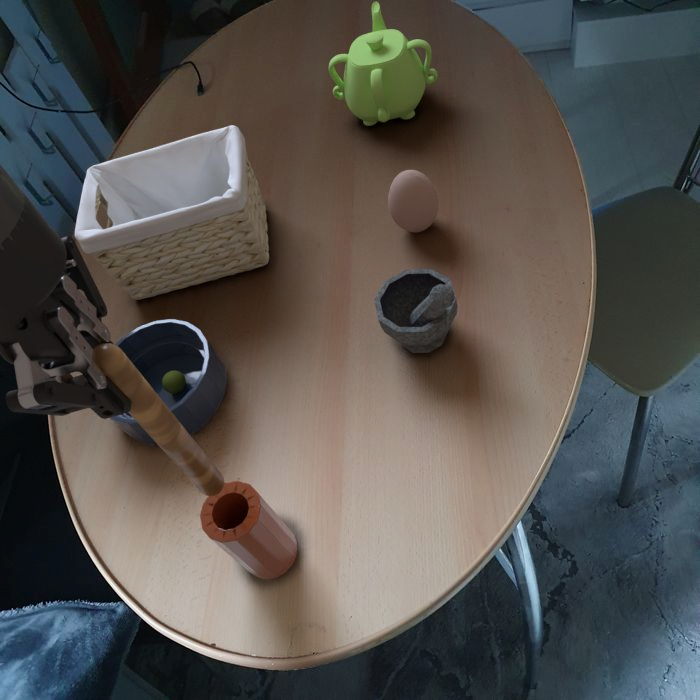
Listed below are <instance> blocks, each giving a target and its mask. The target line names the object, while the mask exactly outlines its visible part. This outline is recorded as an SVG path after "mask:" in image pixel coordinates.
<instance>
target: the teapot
mask: <svg viewBox="0 0 700 700" xmlns="http://www.w3.org/2000/svg"><path fill="white" fill-rule="evenodd" d="M371 19H372V31H371V32H368V33H364V34H362V35H359V36H357V37H356V39H354V40H353V42H352V43H351V44H350V47H349V51H348V53H340V54H336V55H335V56H333V57H332V58H331V59H330V61H329V63H328V73H329V76H330V78H331V79H332V81H333V82H334V83H335V86H334V87H333V89H332V95H333V97H334V98H335V99H336V100H338V101H344V100H345V102H346V105H347V107H348V109H349V111H350V112H351V113H352V114H353V115H354V116H356V117H357V118H358V119H359V120H362V121H363V125H364V126H367V127H368V126H369V127H370V126H374V125H376V124H377V123H378V122H380V123H385V122H388V121H389V120H390V121H391V120H394V119H398V118H400V119H402V120H410V119H412V118H413V117H415V115H416V111H415V109H416V108H417V106H418V105H419V103H420V102H421V100H422V97H423V95H424V93H425V90H426V85H432V84H433V85H434V83H436V82H437V80H438V77H439V74H438V71H437V70H436V69H435V68H430V67H431V63H432V57H433V56H432V55H433V50H432V47H431V45H430V43H428V42H427V41H426V40H424V39H420V38H419V39H411V40H410V41H409V39H408V38H407V37H406V36H405V34H404V33H402V32H401V31H400V30H398V29H396V28H395V29H394V28H387V26H386V24H385V23H386V22H385V21H384V17H383V14H382V10H381V5H380V3H379V2H378V1H376V0H375V1H373V2H372V4H371ZM417 48H418V49H424V50H425V59H424V64H423V63H422V61H421V58H420V56H419V55H418V53H417V51H416V50H415V49H417ZM339 63H345V66H344V72H343V80H342V79H341V77H340V76H339V74H338V73H337V71H336V68H335V66H336V65H337V64H339ZM429 75H430V76H429ZM339 91H340V92H339Z"/></svg>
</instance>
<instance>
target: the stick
mask: <svg viewBox="0 0 700 700" xmlns="http://www.w3.org/2000/svg"><path fill="white" fill-rule="evenodd" d="M93 350H94V352H93V358H92V359H93V361H94V362H95V363H96V364H97V366H98V367H99V368H100V369H101V371H102V372H103V373H104V375H105V376H108V377H109V378H110V379H111V380H112V381H113V382H114V383H115V385H116V386H117V387H118V388H119V389H120V390H121V391H122V392H123V393H124V394H125V395H126V396H127V397H128V398H129V399H130V400H131V410H130V411H129V413H130V414H131V416H132V417H133V418H134V419H135V420H136V421H137V422H138V423H139V424H140V425H141V427H142V428H143V429H144V430H145V431H146V432H147V433H148V434H149V435H150V436H151V438H152V439H153V440H154V441H155V442H156V443H157V444H158V445H157V446H159V448H160V449H161V450H162V451H163V452H164V453H165V455H166V456H168V458H169V459H170V460H171V461H172V462H173V463H174V464H175V465H176V466H177V468H178V469H179V470H180V471H181V472H182V474H184V475H185V477H186V478H188V480H189V481H190V482H191V483H192V485H194V487H196V489H198V491H199V492H200V493H201V494H202V495H204V496H206V497H208V496H215V495H217V494H219V493H220V492H221V491H222V489H223V487H224V483H225V478H224V476H223V474H222V473H221V472H220V470H219V469H218V468H217V467H216V465H215V464H214V463H213V462H212V461H211V459H210V458H209V456H208V455H207V454H206V453H205V452H204V450H203V449H202V448H201V447H200V445H199V444H198V443H197V442H196V441H195V439H194V438H193V436H192V435H190V434H189V433H188V432H187V431H186V429H185V428H184V427H183V426H182V424H181V423H180V422H179V421H178V419H177V418H176V417H175V416H174V414H173V413H172V412H171V411H170V409H169V408H168V407H167V406H166V404H165V403H164V402H163V401H162V399H161V398H160V397H159V396H158V394H157V393H156V392H155V391H154V390H153V388H152V387H151V386H150V385H149V383H148V382H147V381H146V380H145V378H144V377H143V376H142V375H141V373H140V372H139V371H138V370H137V368H136V367H135V366H134V365H133V363H132V362H131V361H130V360H129V358H128V357H127V356H126V355H125V353H124V352H123V351H122V350H121V349H120V348H119V347H118V346H116V345H115V344H114V343H113V344H110V343H104V344H100V345H98V346H96V347H95V348H94V349H93Z"/></svg>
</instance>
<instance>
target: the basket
mask: <svg viewBox="0 0 700 700" xmlns="http://www.w3.org/2000/svg"><path fill="white" fill-rule="evenodd" d="M246 146H247V145H246V138H245V136H244V134H243V133H242V132H241V129H240V128H239V127H238V126H236V125H232V124H231V125H228V126H225V127H220V128H217V129H214V130H209V131H205V132H201V133H198V134H195V135H192V136H191V135H190V136H188V137H185V138H182V139H179V140H175V141H172V142H169V143H165V144H161V145H158V146H155V147H153V148H149V149H145V150H142V151H138V152H135V153H131V154H128V155H124V156H121V157H118V158H113V159H110V160H108V161H104V162H100V163H97V164H94V165H92V166H91V165H90V167H88V168H87V170H86V175H85V178H84V180H83V181H84V182H83V185H82V190H81V195H80V201H79V206H78V211H77V215H76V222H75V228H74V238H75V240H76V241H77V242H78V244H79V246H80V249H81V250H82V251H83V253H85V254H86V255H91V256H92V257H93V258H95V260H96V261H97V262H98V263H99V264H100V266H101V267H102V268H103V269H104V270H105V271H106V273H107V274H108V276H110V277H111V278H113V279H114V280H115V282H116V284H118V285H119V286H121V287H122V288H123V290H124V292H126V293H127V294H128V295H129V296H130V297H131V298H132V300H135V301H139V300H143V299H147V298H153V297H156V296H158V295H162V294H168V293H170V292H173V291H176V290H182V289H185V288H188V287H192V286H198V285H200V284H203V283H206V282H210V281H216V280H218V279H221V278H224V277H228V276H234V275H236V274H239V273H244V272H247V271H252V270H254V269H257V268H261V267H264V266H266V265H268V263H269V261H270V253H269V251H270V246H269V235H268V229H269V228H268V222H267V213H266V212H267V210H266V209H267V207H266V203H265V200H264V197H263V195H262V192H261V188H260V187H259V181H258V180H257V178H256V176H255V175H256V174H255V172H254V169H253V167H252V164H251V163H250V161H249V157H248V152H247V147H246ZM100 205H102V207H103V209H104V210H105V212H106V214H107V217H108V218H107V224H106V228H103V227H102V226H101V225H100V222H99V219H100V218H99V217H98V216H97V215H98V211H99V208H100V207H99V206H100Z"/></svg>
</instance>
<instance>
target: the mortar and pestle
mask: <svg viewBox="0 0 700 700" xmlns="http://www.w3.org/2000/svg"><path fill="white" fill-rule="evenodd" d="M373 301H374V307H375V311H376V316H377V320H378V324H379V326H380V328H381V330H382V331H383V332H384V333H385V334H386V335H387V336H389V337H391V338H392V339H393V340H395V341H397V342H398V343H400V345H401V347H403V348H405V349H406V350H408V351H409V352H410V353H413V354H429V353H431V352H432V351H434V350H436V349H438V348H439V347H442V346H443V344H444V341H445V339H446V338H447V335H448V332H449V330H450V328H451V326H452V325H453V322H454V320H455V319H456V316H457V314H458V301H457V296H456V293H455V290H454V287H453V284H452V281H451V279H450V278H448V277H446V276H444V275H442V274H440V273H439V272H437V271H435V270H434V269H432V268H417V269H415V268H414V269H413V268H411V269H405V270H403V271H401V272H399V273H398V274H396V275H393V276H392V277H390V278H388V279H386V280H385V281H383V284H382V285H381V287H380V289H379V291H378V293H377V294H376V296H375V298H374V300H373Z"/></svg>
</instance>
